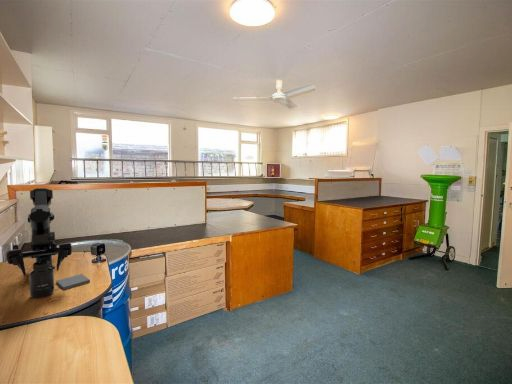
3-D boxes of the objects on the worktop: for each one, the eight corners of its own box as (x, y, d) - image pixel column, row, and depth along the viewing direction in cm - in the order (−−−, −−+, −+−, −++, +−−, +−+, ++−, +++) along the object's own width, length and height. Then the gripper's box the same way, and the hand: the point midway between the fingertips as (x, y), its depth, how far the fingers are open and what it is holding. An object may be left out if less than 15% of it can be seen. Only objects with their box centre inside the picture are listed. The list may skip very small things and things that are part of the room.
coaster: (56, 282, 104) (56, 280, 104) (81, 276, 111) (81, 273, 111) (63, 289, 99) (63, 287, 98) (89, 281, 106) (89, 279, 106)
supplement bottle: (40, 299, 91) (39, 267, 90) (25, 297, 92) (23, 265, 91) (59, 291, 97) (57, 260, 96) (44, 289, 99) (42, 258, 98)
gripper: (5, 228, 91) (2, 268, 83) (70, 222, 103) (73, 257, 95) (9, 245, 98) (7, 283, 90) (70, 237, 110) (72, 271, 102)
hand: (41, 273), depth 94 cm, fingers open, 9 cm apart
